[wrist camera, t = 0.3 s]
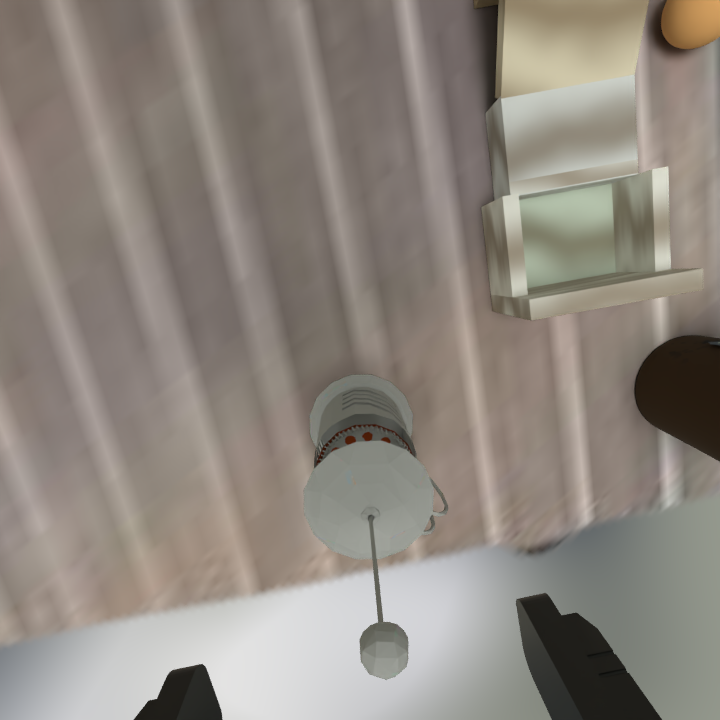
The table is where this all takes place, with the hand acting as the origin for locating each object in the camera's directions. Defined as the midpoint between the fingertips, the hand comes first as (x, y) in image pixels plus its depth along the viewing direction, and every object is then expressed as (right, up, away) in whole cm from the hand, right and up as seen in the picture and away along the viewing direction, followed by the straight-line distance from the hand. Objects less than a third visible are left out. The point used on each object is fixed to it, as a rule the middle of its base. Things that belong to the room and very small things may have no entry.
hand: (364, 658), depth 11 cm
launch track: (+16, +25, +25) cm, 38 cm away
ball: (+25, +34, +21) cm, 47 cm away
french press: (+1, +1, +29) cm, 29 cm away
